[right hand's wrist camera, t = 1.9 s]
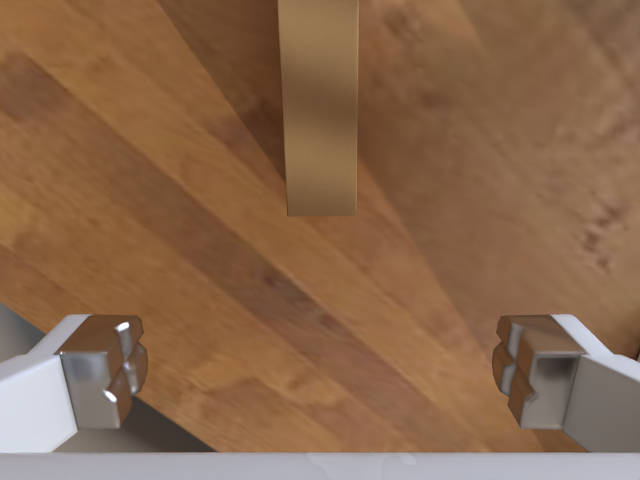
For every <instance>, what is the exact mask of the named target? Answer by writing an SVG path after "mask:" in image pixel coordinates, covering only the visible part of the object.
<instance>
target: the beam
mask: <svg viewBox="0 0 640 480" xmlns="http://www.w3.org/2000/svg"><path fill="white" fill-rule="evenodd" d="M277 8H278V29H279V50H280V71H281V92H282V113H283V134H284V154H285V175H286V196H287V216H288V217H296V216H355V215H356V212H357V116H358V20H359V0H277Z"/></svg>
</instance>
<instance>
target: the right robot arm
mask: <svg viewBox="0 0 640 480" xmlns="http://www.w3.org/2000/svg"><path fill="white" fill-rule="evenodd" d="M143 333H144V332H143V327H142V322H141V319H140V318H139V317H138V316H137V315H92V314H73V315H67V316H66V317H64V318H63V319H62V320H61V321H60V322H59V323H58V324H57V325H56V326H55V327H54V328H53V329H52V330H51V331H50V332H49V333H48V334H47V335H46V336H45V337H44V338H43V339H42V340H41V341H40V342H39V343H38V344H37V345H36V346H35V347H34V348H33V349H32V350H31V351H30V352H29V353H28V354H26V355H17V356H15V357H12V358H10V359H8V360H6V361H3V362H1V363H0V480H640V354H639V356H638V359H637V361H634V360H632V359H630V358H628V357H625V356H623V355H614V354H613V353H612V352H611V351H609V350H608V349H607V348H606V347H605V346H604V345H603V344H602V343H601V342H600V341H599V340H598V339H597V338H596V337H595V336H594V335H593V334H592V333H591V332H590V331H589V330H588V329H587V328H586V327H585V326H584V325H583V324H582V323H581V322H580V321H579V320H578V319H577V318H576V317H575V316H573V315H570V314H555V315H514V316H501V317H500V320H499V322H498V326H497V332H496V333H497V334H498V336H499V337H500V339H501V342H500V343H499V344H498V345H497V346H496V347H495V349H494V350H493V358H492V368H493V376H494V379H495V382H496V385H497V387H498V388H499V390H500V392H502V393H503V394H505V395H507V396H508V397H509V402H508V407H509V408H510V410H511V412H512V414H513V416H514V417H515V419H516V421H517V423H518V424H519V426H520V428H524V429H561V430H562V432H564V433H565V434H566V435H567V436H569V437H570V438H571V439H573V440H574V441H575V442H576V443H578V444H579V445H580V446H582V447H583V448H584V449H586V450H587V451H588V452H589V453H51V452H52V451H53V450H55V449H56V448H57V447H58V446H60V445H61V444H62V443H64V442H65V441H66V440H68V439H69V438H70V437H71V436H73V435H74V434H75V433H77V432H78V430H79V429H114V428H120V426H121V425H122V423H123V421H124V419H125V417H126V416H127V414H128V412H129V410H130V408H131V407H132V402H131V397H132V396H133V395H135V394H137V393H138V392H140V390H141V388H142V386H143V385H144V383H145V379H146V375H147V370H148V357H147V350H146V349H145V347H144V346H143V345H142V344H141V343H140V342H139V339H140V337H141V336H142V334H143Z"/></svg>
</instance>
